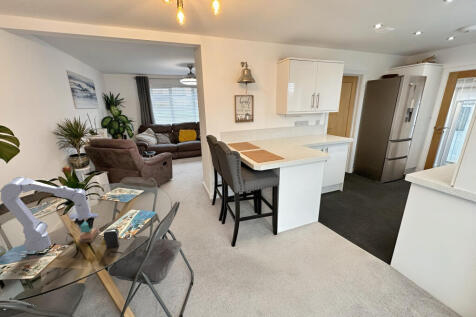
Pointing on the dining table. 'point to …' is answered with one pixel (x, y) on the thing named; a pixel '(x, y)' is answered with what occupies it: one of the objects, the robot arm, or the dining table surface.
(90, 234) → the tower top
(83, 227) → the teal block
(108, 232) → the battery
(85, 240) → the tower base
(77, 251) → the dining table surface
